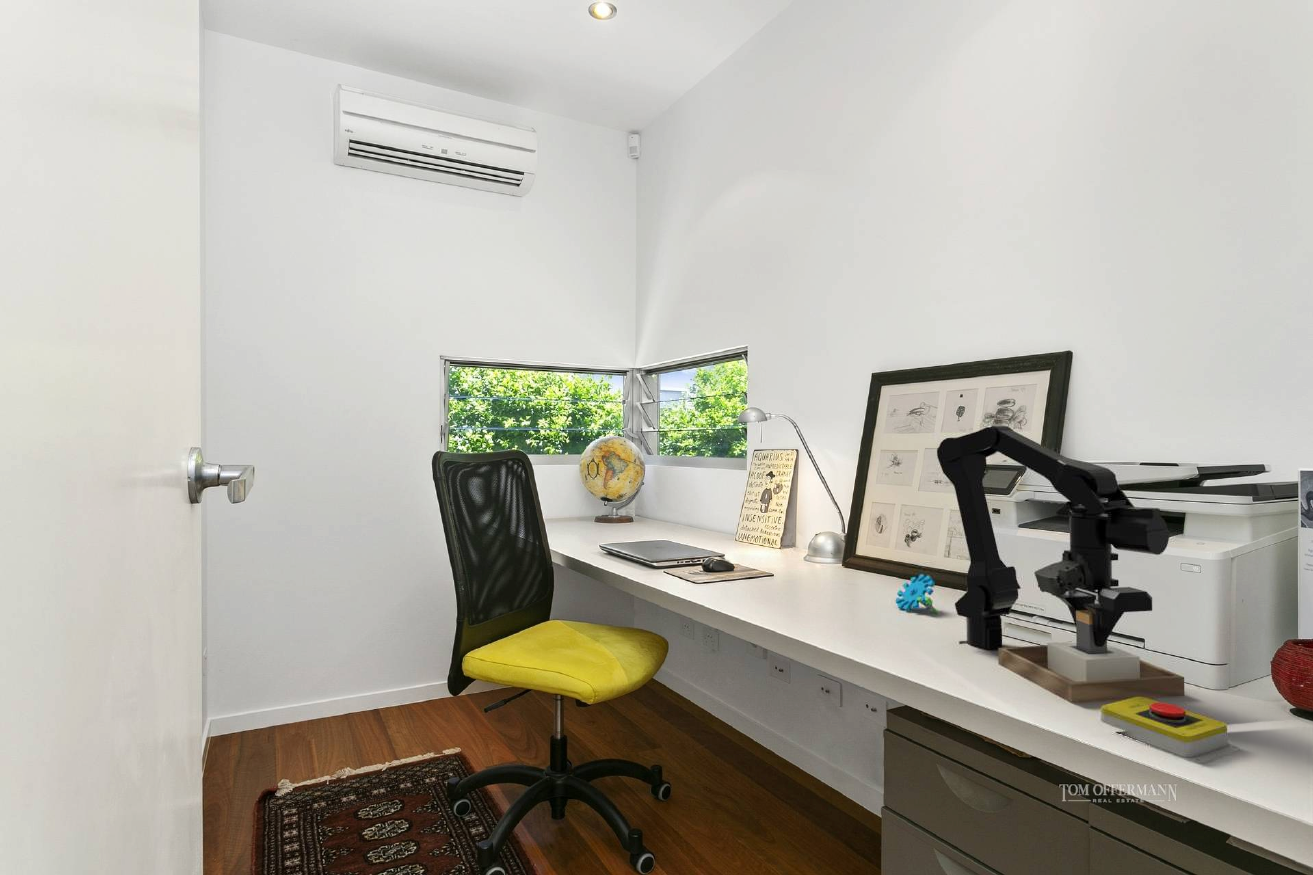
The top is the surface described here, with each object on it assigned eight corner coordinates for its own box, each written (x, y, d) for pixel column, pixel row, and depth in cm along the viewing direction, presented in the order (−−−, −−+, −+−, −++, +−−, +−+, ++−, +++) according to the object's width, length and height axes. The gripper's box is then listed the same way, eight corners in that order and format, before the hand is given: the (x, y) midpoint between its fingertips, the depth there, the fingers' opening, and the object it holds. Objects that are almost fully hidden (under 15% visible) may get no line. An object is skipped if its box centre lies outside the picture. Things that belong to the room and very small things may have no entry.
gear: (886, 597, 170) (917, 566, 170) (903, 613, 171) (933, 583, 171) (908, 615, 159) (940, 582, 159) (925, 632, 160) (957, 600, 160)
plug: (1076, 659, 118) (1076, 610, 118) (1093, 658, 118) (1093, 609, 118) (1089, 665, 115) (1089, 615, 115) (1107, 664, 115) (1106, 614, 115)
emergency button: (1199, 732, 87) (1081, 692, 101) (1200, 768, 87) (1082, 724, 101) (1244, 718, 91) (1124, 681, 105) (1245, 753, 91) (1125, 712, 105)
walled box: (998, 668, 123) (998, 647, 123) (1096, 662, 125) (1096, 642, 125) (1071, 708, 105) (1071, 684, 105) (1184, 700, 107) (1184, 677, 107)
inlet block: (1047, 668, 120) (1047, 642, 120) (1097, 665, 122) (1097, 640, 122) (1086, 687, 112) (1085, 659, 112) (1140, 683, 113) (1139, 656, 113)
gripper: (1008, 539, 125) (1009, 630, 125) (1085, 557, 106) (1086, 664, 106) (1068, 536, 126) (1069, 627, 126) (1154, 554, 108) (1156, 660, 108)
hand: (1091, 643), depth 117 cm, fingers closed on plug, 3 cm apart
